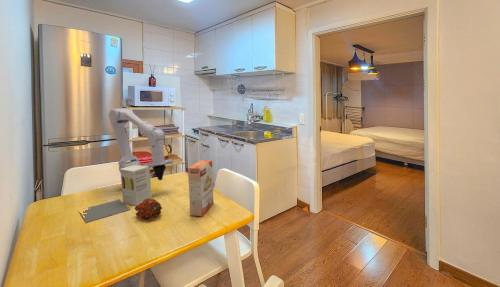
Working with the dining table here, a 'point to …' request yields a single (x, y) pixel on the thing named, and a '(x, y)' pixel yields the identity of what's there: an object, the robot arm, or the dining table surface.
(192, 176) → the cracker box
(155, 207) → the reddish-brown bumpy oval
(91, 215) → the mat
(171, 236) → the dining table surface
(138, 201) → the supplement box
